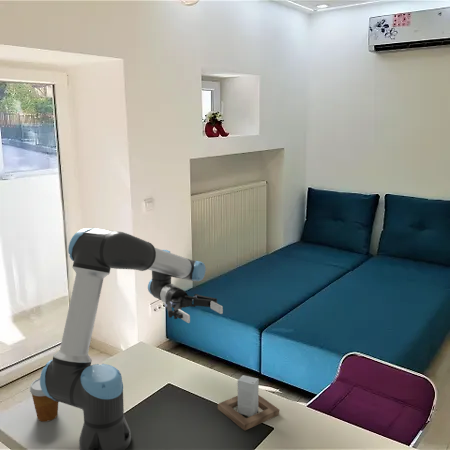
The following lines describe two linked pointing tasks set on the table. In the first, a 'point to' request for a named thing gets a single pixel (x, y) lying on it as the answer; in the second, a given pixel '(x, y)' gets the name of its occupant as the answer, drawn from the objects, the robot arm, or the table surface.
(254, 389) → the skincare box
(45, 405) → the disposable coffee cup
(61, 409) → the table surface
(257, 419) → the square wooden frame
